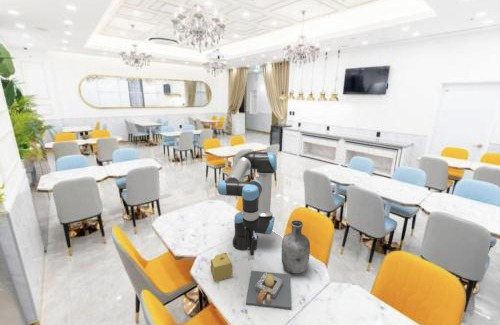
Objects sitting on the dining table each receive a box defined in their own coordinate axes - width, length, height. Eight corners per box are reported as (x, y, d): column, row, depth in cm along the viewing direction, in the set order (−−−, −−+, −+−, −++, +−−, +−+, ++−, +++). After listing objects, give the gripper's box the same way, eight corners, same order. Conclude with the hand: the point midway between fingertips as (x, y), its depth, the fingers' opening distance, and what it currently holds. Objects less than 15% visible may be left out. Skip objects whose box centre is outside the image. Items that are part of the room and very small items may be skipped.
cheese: (210, 270, 137) (209, 255, 135) (228, 265, 141) (227, 251, 138) (214, 283, 128) (213, 267, 125) (233, 277, 132) (232, 262, 129)
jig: (251, 272, 135) (251, 261, 133) (289, 276, 132) (290, 264, 130) (245, 304, 114) (245, 291, 112) (291, 309, 111) (291, 296, 109)
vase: (275, 267, 139) (276, 222, 131) (292, 255, 149) (294, 213, 141) (296, 282, 128) (299, 234, 120) (313, 269, 137) (317, 223, 130)
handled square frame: (264, 276, 130) (264, 272, 129) (283, 283, 124) (283, 279, 124) (249, 298, 116) (249, 294, 115) (269, 307, 110) (269, 303, 110)
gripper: (238, 212, 114) (239, 253, 121) (248, 226, 103) (249, 270, 110) (252, 209, 117) (252, 249, 124) (263, 222, 105) (263, 265, 112)
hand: (251, 259), depth 117 cm, fingers closed
